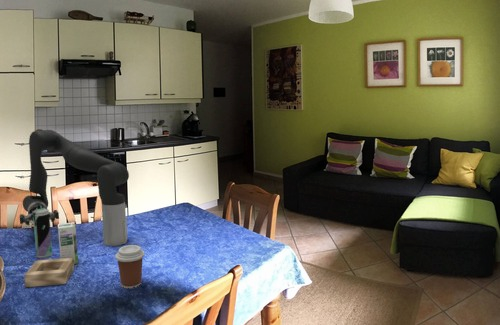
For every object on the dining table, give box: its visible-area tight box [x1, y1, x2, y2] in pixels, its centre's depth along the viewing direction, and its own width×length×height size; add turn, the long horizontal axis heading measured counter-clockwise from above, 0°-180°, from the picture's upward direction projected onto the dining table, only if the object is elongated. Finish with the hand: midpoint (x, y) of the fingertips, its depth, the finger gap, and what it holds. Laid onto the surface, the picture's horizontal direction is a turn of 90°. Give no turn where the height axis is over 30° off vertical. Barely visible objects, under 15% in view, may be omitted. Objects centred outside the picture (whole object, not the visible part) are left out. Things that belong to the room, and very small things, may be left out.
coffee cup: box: [114, 244, 145, 289], centre depth 127 cm, size 9×9×12 cm
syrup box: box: [57, 221, 79, 265], centre depth 143 cm, size 6×6×14 cm
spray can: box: [32, 204, 53, 259], centre depth 149 cm, size 6×6×20 cm
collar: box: [23, 258, 75, 288], centre depth 132 cm, size 12×12×4 cm
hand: (40, 221), depth 157 cm, fingers open, 8 cm apart
